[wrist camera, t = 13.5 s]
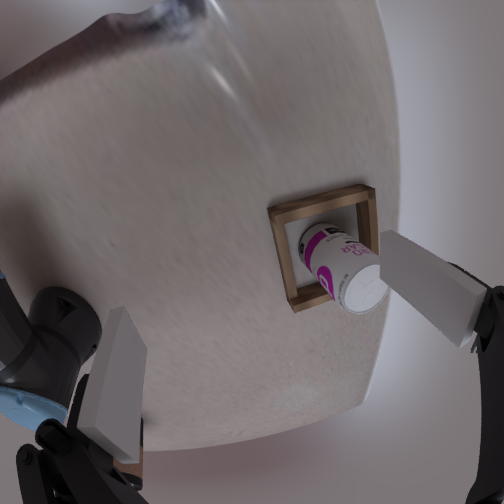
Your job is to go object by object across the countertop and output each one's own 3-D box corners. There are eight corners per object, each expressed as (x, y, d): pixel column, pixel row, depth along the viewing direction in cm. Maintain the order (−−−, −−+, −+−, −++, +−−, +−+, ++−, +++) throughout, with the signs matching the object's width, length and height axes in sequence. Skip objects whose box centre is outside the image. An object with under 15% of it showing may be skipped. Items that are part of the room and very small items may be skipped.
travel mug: (143, 428, 56) (142, 492, 38) (115, 422, 54) (110, 486, 36) (145, 414, 54) (143, 484, 36) (115, 408, 52) (107, 477, 34)
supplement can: (304, 275, 46) (345, 328, 33) (291, 233, 43) (334, 278, 29) (345, 255, 47) (395, 300, 33) (335, 213, 43) (391, 248, 29)
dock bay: (287, 300, 48) (294, 313, 44) (267, 208, 40) (274, 215, 37) (367, 271, 49) (378, 280, 45) (361, 183, 42) (374, 188, 38)
